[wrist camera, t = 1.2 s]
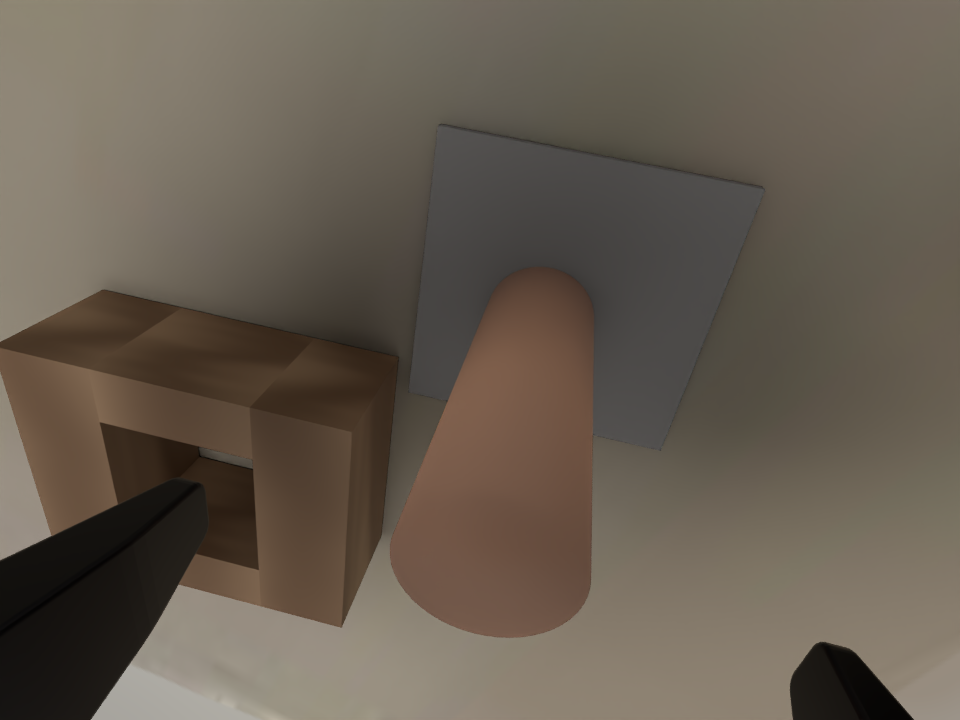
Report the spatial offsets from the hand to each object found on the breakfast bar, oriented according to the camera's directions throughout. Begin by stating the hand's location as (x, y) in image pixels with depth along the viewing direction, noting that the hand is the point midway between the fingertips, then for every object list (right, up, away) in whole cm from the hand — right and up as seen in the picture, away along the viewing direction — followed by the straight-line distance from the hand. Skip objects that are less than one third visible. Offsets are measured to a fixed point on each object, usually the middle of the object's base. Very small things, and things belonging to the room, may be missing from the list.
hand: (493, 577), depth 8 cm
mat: (+2, +5, +8) cm, 10 cm away
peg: (+1, +4, +8) cm, 9 cm away
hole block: (-8, +1, +12) cm, 15 cm away
